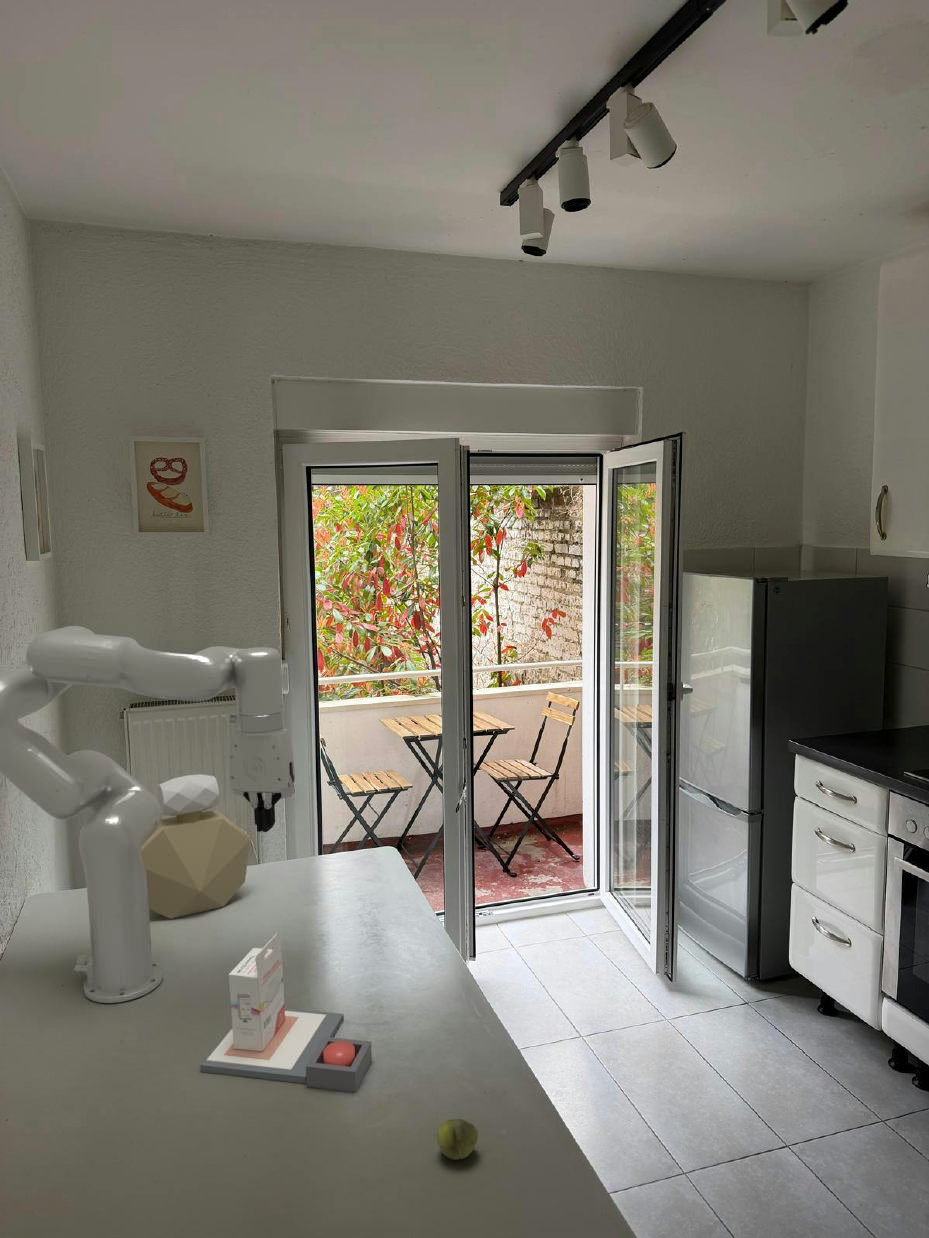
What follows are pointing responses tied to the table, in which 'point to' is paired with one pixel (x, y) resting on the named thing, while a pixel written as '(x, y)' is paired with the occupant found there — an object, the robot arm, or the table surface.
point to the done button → (339, 1053)
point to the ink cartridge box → (257, 997)
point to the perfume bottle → (193, 850)
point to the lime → (457, 1138)
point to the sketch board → (276, 1049)
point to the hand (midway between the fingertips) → (265, 828)
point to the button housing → (338, 1067)
